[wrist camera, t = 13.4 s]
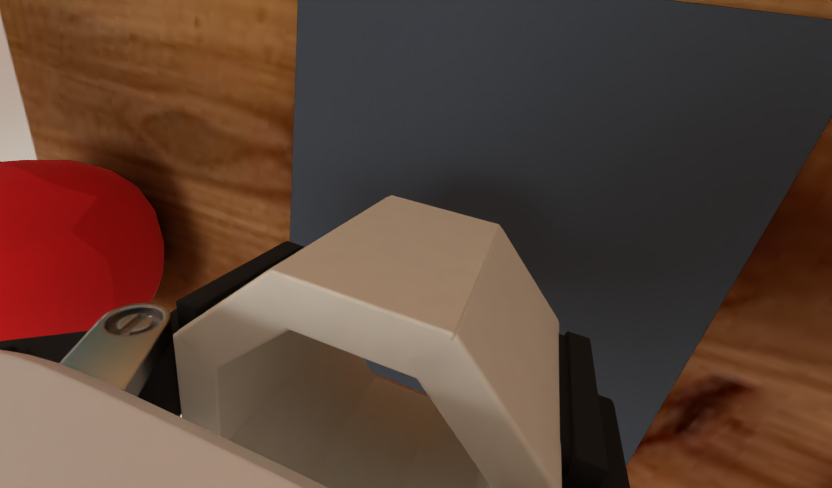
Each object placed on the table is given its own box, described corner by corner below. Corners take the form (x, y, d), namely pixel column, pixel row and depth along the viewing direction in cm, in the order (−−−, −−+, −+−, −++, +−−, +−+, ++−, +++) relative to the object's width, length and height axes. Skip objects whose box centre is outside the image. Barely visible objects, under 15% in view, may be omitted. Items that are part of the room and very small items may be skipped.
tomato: (234, 216, 23) (-108, 346, 11) (179, 335, 29) (-83, 502, 17) (89, 91, 23) (-388, 91, 11) (63, 234, 29) (-270, 330, 17)
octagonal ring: (588, 247, 9) (619, 390, 5) (507, 453, 12) (480, 660, 8) (321, 175, 11) (159, 231, 6) (308, 371, 14) (190, 503, 9)
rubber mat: (876, 27, 12) (886, 25, 11) (621, 466, 20) (622, 472, 20) (304, -42, 16) (299, -45, 16) (290, 334, 25) (286, 338, 24)
